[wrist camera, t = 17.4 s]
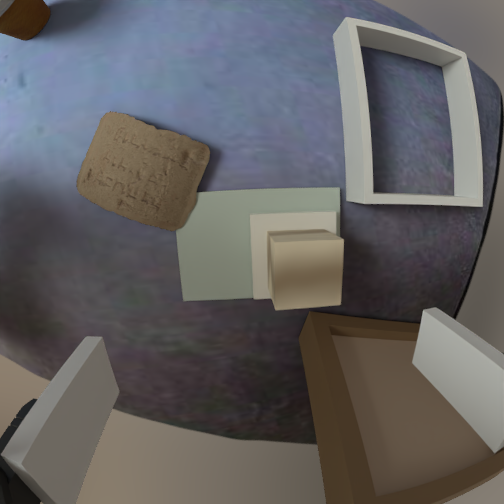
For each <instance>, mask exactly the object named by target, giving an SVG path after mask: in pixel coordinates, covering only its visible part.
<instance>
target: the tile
mask: <svg viewBox="0 0 504 504" xmlns="http://www.w3.org/2000/svg"><path fill="white" fill-rule="evenodd" d="M249 220H250V243H251V266H252V288H253V298H254V299H269V298H271V295H270V292H269V289H268V269H267V231H281V230H309V229H325V230H327V231H329V232H331V233H332V234H334V235H336V212H335V211H332V210H329V211H293V212H267V213H249Z"/></svg>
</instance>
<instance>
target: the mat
mask: <svg viewBox="0 0 504 504" xmlns="http://www.w3.org/2000/svg"><path fill="white" fill-rule="evenodd" d="M329 210H332V211H335V212H336V236H338V237H340V188H274V189H248V190H228V191H211V192H197V193H196V204H195V206H194V207H193V209H192V210H191V212H190V213H189V214H188V217H187V219H186V221H185V223H184V225H183V226H182V227H181V228H179V229H176V236H177V247H178V258H179V267H180V277H181V285H182V294H183V301H200V300H222V299H242V298H253V288H252V266H251V243H250V220H249V213H267V212H293V211H329Z"/></svg>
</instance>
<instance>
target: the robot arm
mask: <svg viewBox="0 0 504 504" xmlns="http://www.w3.org/2000/svg"><path fill="white" fill-rule="evenodd" d="M412 364H413V365H414V366H415V367H416V368H417V369H418V370H419V371H420V372H421V373H422V374H423V375H424V376H425V377H426V378H427V379H428V380H429V381H430V382H431V383H432V385H433V386H434V387H435V388H436V389H437V390H438V391H439V392H440V393H441V394H442V395H443V396H444V397H445V398H446V400H447V401H448V402H449V403H450V404H451V405H452V406H453V407H454V408H455V409H456V410H457V411H458V413H459V414H460V415H461V416H462V417H463V418H464V419H465V420H466V421H467V423H468V424H469V425H470V426H471V427H472V428H473V429H474V430H475V431H476V433H477V434H478V435H479V436H480V437H481V438H482V439H483V441H484V442H485V443H486V444H487V445H488V446H489V447H490V449H491V450H492V451H493V452H494V453H496V452H497V451H498V450H500V449H501V448H503V447H504V353H502V352H500V351H498V350H497V349H496V348H494V347H493V346H492V345H490V344H489V343H487V342H486V341H484V340H483V339H482V338H480V337H479V336H477V335H476V334H475V333H473V332H472V331H470V330H469V329H467V328H466V327H464V326H463V325H461V324H460V323H459V322H457V321H456V320H454V319H453V318H451V317H450V316H448V315H447V314H445V313H444V312H442V311H441V310H439V309H438V308H436V307H435V308H430V309H425V310H423V314H422V319H421V325H420V330H419V334H418V339H417V344H416V348H415V352H414V356H413V360H412ZM118 394H119V389H118V386H117V383H116V380H115V377H114V374H113V371H112V368H111V365H110V361H109V358H108V355H107V351H106V348H105V344H104V341H103V337H92V336H86V337H85V338H84V340H83V341H82V342H81V343H80V344H79V346H78V347H77V348H76V349H75V351H74V352H73V353H72V355H71V356H70V357H69V358H68V360H67V361H66V362H65V363H64V365H63V366H62V367H61V369H60V370H59V371H58V373H57V374H56V375H55V377H54V378H53V379H52V381H51V382H50V383H49V385H48V386H47V387H46V389H45V390H44V391H43V393H42V394H41V396H40V397H39V398H38V399H33V400H31V401H30V402H28V403H27V404H25V405H24V406H23V407H22V408H21V410H20V411H19V412H18V414H17V415H16V418H14V419H13V421H12V422H11V426H8V428H7V429H6V431H5V432H4V434H3V435H2V437H1V438H0V504H40V502H42V503H44V504H76V501H77V498H78V495H79V493H80V490H81V487H82V484H83V481H84V478H85V476H86V473H87V470H88V468H89V465H90V462H91V460H92V457H93V455H94V452H95V450H96V447H97V444H98V442H99V439H100V437H101V435H102V432H103V430H104V427H105V424H106V422H107V420H108V418H109V415H110V413H111V410H112V408H113V406H114V403H115V401H116V399H117V397H118Z"/></svg>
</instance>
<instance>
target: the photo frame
mask: <svg viewBox="0 0 504 504" xmlns="http://www.w3.org/2000/svg"><path fill="white" fill-rule="evenodd" d="M420 325H421V324H417V323H406V322H396V321H386V320H376V319H367V318H359V317H350V316H342V315H334V314H326V313H319V312H312V311H309V314H308V316H307V319H306V321H305V324H304V326H303V328H302V331H301V333H300V336H299V343H300V349H301V354H302V359H303V365H304V370H305V375H306V381H307V386H308V392H309V398H310V403H311V409H312V415H313V421H314V427H315V433H316V439H317V445H318V451H319V457H320V464H321V470H322V477H323V483H324V490H325V497H326V504H443V503H445V502H447V501H450V500H452V499H454V498H456V497H458V496H460V495H463V494H465V493H466V492H469V491H470V490H472V489H474V488H476V487H478V486H480V485H482V484H484V483H485V482H487V481H489V480H491V479H492V478H494V477H495V476H497V475H498V474H499V473H501V472H502V471H503V470H504V447H503V448H501V449H500V450H498V451H497V452H496V453H494V452H493V451H492V450H491V449H490V447H489V446H488V445H487V444H486V443H485V442H484V441H483V439H482V438H481V437H480V436H479V435H478V434H477V433H476V431H475V430H474V429H473V428H472V427H471V426H470V425H469V424H468V423H467V421H466V420H465V419H464V418H463V417H462V416H461V415H460V414H459V413H458V411H457V410H456V409H455V408H454V407H453V406H452V405H451V404H450V403H449V402H448V401H447V400H446V398H445V397H444V396H443V395H442V394H441V393H440V392H439V391H438V390H437V389H436V388H435V387H434V386H433V385H432V383H431V382H430V381H429V380H428V379H427V378H426V377H425V376H424V375H423V374H422V373H421V372H420V371H419V370H418V369H417V368H416V367H415V366H414V365H413V364H412V360H413V356H414V352H415V348H416V344H417V339H418V334H419V330H420Z"/></svg>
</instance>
